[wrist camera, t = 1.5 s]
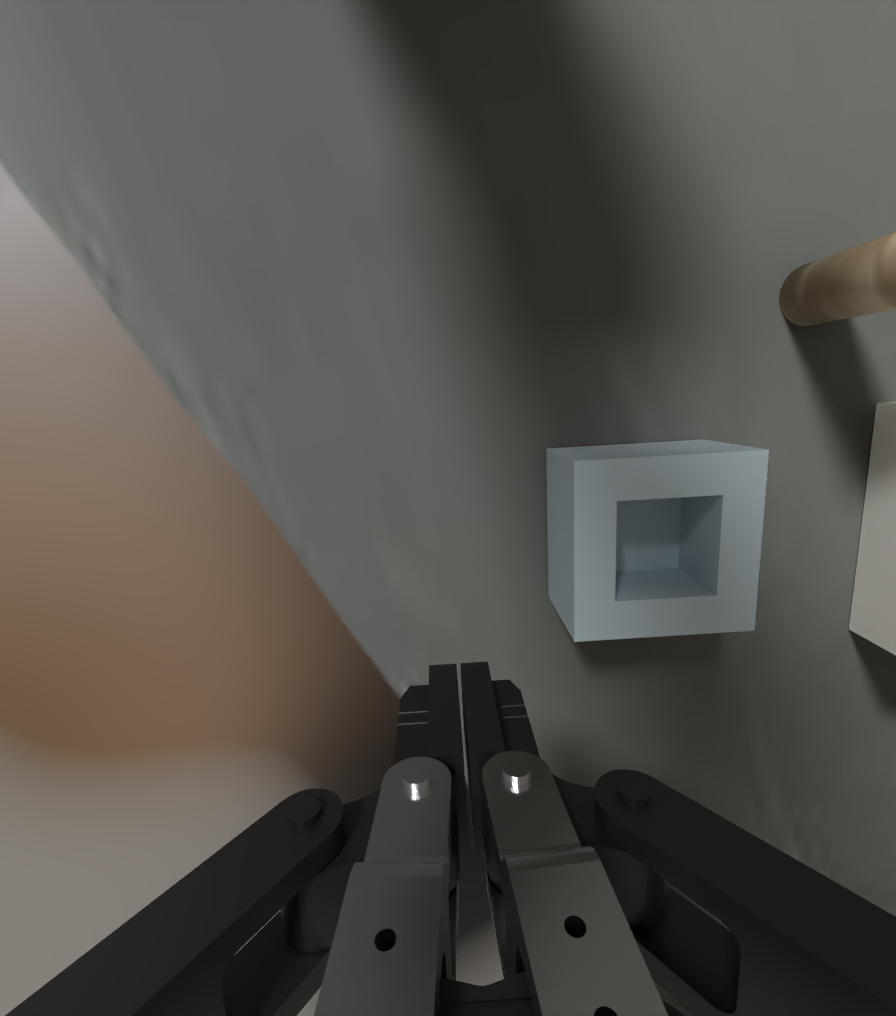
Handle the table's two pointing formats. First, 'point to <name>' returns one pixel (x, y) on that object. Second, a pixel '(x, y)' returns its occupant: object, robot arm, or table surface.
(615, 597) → the socket block
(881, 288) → the dowel
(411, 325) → the table surface
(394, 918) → the robot arm
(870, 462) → the wall board
